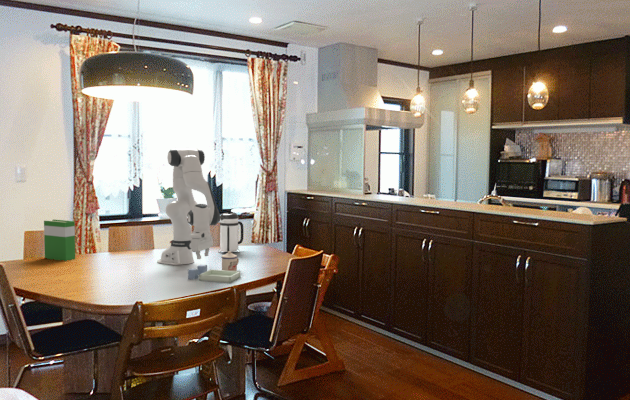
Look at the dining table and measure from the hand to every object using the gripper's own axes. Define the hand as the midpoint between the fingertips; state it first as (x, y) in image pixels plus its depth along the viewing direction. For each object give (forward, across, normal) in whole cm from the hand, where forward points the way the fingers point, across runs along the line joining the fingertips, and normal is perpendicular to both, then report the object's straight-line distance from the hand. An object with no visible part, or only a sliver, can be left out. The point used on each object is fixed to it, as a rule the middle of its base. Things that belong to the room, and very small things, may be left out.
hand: (202, 257), depth 308 cm
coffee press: (+9, -68, -13) cm, 70 cm away
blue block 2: (+10, 0, -1) cm, 10 cm away
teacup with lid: (+10, -13, +11) cm, 20 cm away
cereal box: (+6, -12, -104) cm, 105 cm away
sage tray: (+10, +7, +13) cm, 18 cm away
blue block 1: (+10, +11, -1) cm, 14 cm away
